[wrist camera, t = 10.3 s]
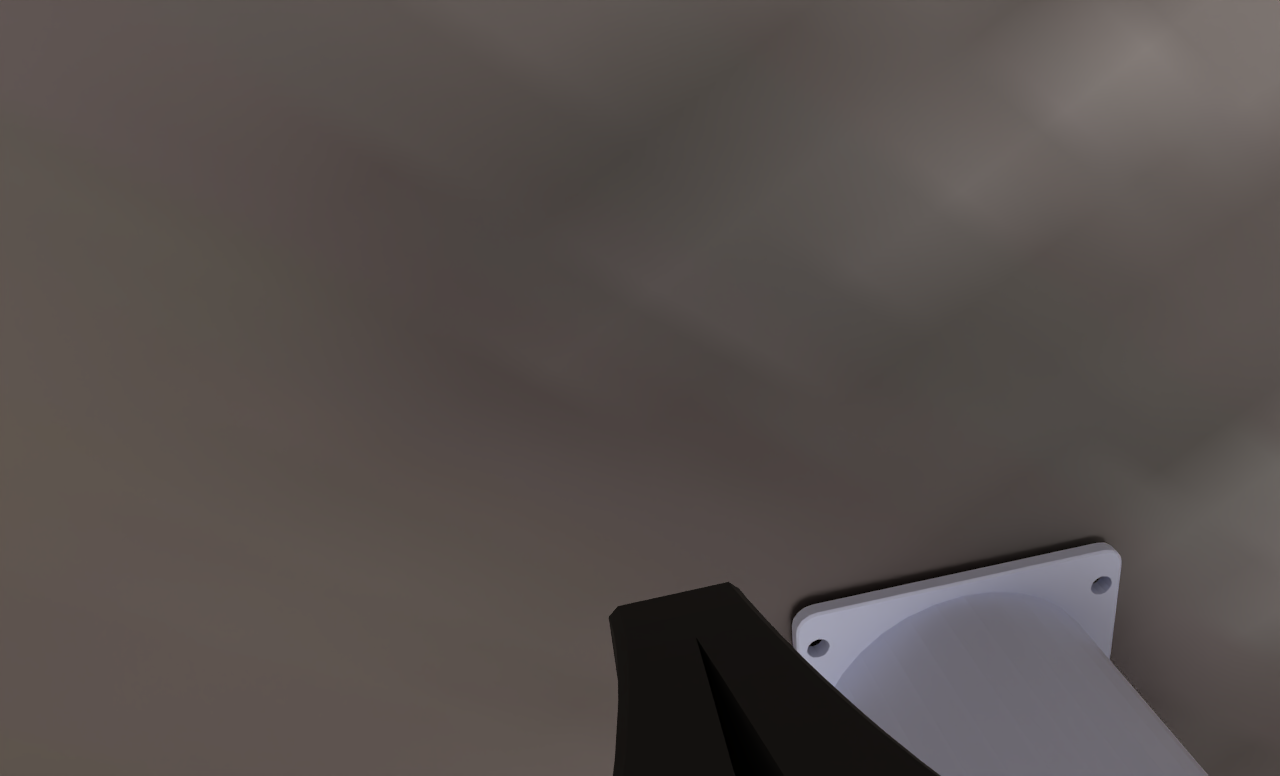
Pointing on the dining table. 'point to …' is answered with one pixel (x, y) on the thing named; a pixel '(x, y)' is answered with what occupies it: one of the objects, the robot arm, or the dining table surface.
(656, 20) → the dining table surface
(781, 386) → the dining table surface
